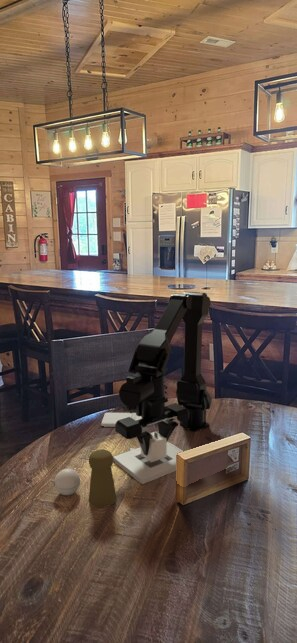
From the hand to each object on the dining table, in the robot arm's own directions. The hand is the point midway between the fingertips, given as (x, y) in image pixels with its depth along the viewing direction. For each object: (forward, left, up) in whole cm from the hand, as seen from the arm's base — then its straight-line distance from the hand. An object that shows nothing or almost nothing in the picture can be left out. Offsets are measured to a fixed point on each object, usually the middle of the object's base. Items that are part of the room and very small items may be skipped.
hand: (153, 451), depth 111 cm
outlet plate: (0, 0, -3) cm, 3 cm away
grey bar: (+6, -7, -3) cm, 10 cm away
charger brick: (0, 0, -1) cm, 1 cm away
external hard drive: (-7, -25, -4) cm, 26 cm away
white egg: (+24, 0, -3) cm, 24 cm away
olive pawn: (+18, +6, -3) cm, 19 cm away
